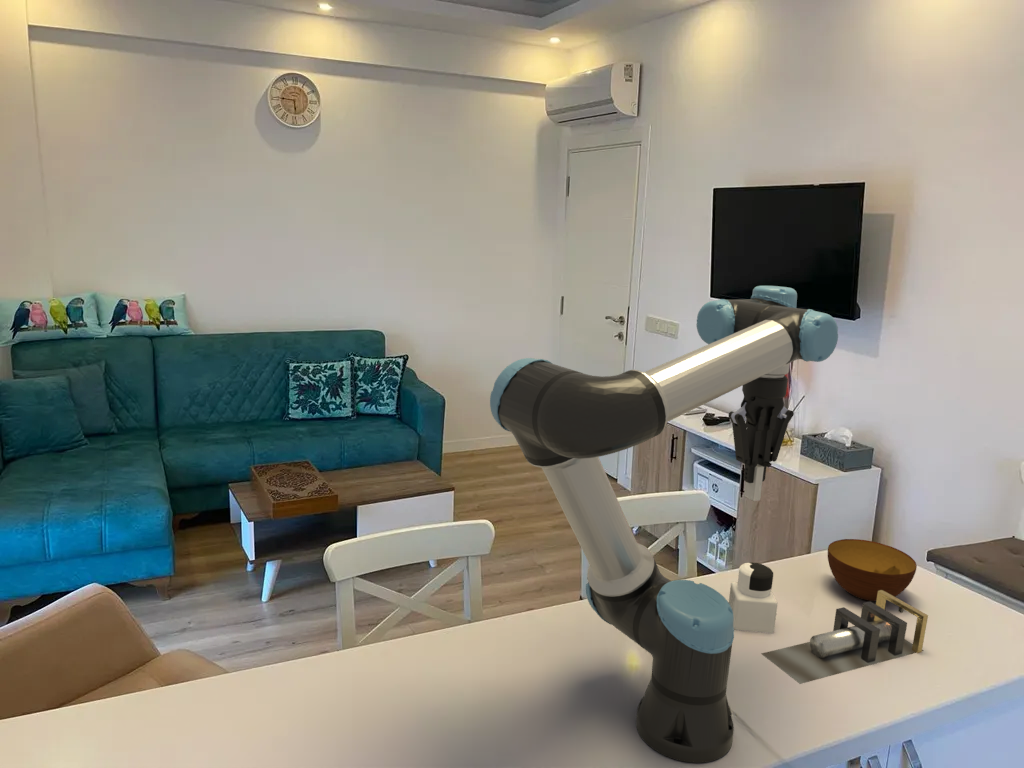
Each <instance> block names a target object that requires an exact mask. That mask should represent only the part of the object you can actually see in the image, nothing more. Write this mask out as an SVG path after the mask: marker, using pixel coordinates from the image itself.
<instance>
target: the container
mask: <svg viewBox="0 0 1024 768" xmlns="http://www.w3.org/2000/svg"><path fill="white" fill-rule="evenodd" d="M737 576H738V577H737V581H731V582H730V588H729V599H728V602H729V604H730V606H731V608H732V611H733V616H734V623H733V627H734V631H743V632H755V633H766V634H774V633H775V628H776V620H777V619H776V618H777V612H778V611H777V610H778V601H777V599H776V597H775V595H774V593H773V590H772V589H773V582H774V571H773V570H772V569H771V568H770V567H768V566H767V565H765V564H762V563H759V562H745V563H742V564H741V565H740V566H739V568H738V575H737Z"/></svg>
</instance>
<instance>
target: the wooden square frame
mask: <svg viewBox="0 0 1024 768" xmlns="http://www.w3.org/2000/svg"><path fill="white" fill-rule="evenodd" d="M887 601H888V602H890V603H892V604H893V605H894V606H897V607H898V612H899V613H900V614H902V613H904V611H906V612H908V613H909V614H911V615H913V616H915V617H916V624H915V630H914V635H913V640H912V641H913V642H912V644H913V646H912V651H914V652H916V653H915V654H920V653H922V652H923V651H922V650H923V647H924V643H925V642H924V640H925V634H926V630H927V623H928V618H929V617H928V616H929V615H928V614H927V613H925V612H923V611H921V610H920V609H918V608H916V607H914V606H912V605H910V604H908V603H906V602H905V601H903V600H901V599H899V598H898V597H897V596H896V597H894V596H892V595H891V594H889V593H887V592H885V591H883V590H880V591H878V594H877V600H876V601H875V604H876V605H877V606H879V607H881V608H883V609H884V610H886V609H885V608H886V603H887ZM877 620H880V618H879V617H877V616H875V618H874V621H877Z"/></svg>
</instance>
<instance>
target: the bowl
mask: <svg viewBox="0 0 1024 768" xmlns="http://www.w3.org/2000/svg"><path fill="white" fill-rule="evenodd" d="M827 561H828V566H829V569H830V571H831V573H832V575H833V578H834V579H835V581H836V582H837V584H838V585H839V586H840V587H841V589H843V590H845V591H846V592H847V593H848V594H850V595H852V596H854V597H856V598H857V599H861V600H865V601H867V602H870V601H871V602H876V600H877V594H878V591H880V590H883V591H885V592H887V593H889V594H891V595H892V596H894V597H896V598H897V596H899V595H900V594H901V593H903V592H904V591H905V590H906V589H907V588H908V587H909V585H910V584H911V583H912V582H913V579H914V577H915V574H916V572H917V567H918V566H917V562H916V561H915V559H914V558H912V556H910V555H909V554H908V553H906V552H904V551H902V550H900V549H898V548H896V547H893V546H892V545H891V546H890V545H887V544H884V543H881V542H877V541H871V540H865V539H858V538H857V539H856V538H844V539H839V540H838V539H837V540H835V541H832V542H831V543H829V545H828V547H827Z"/></svg>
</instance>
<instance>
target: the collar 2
mask: <svg viewBox="0 0 1024 768" xmlns="http://www.w3.org/2000/svg"><path fill="white" fill-rule="evenodd" d="M875 616H877V617H879V618H880V619H882V620H884V621H886V622H887V623H889V624H891V625H892V629H891V635H890V641H889V647H888V652H890V653H891V654H893V655H894V656H895V655H899V654H902V651H903V645H904V639H905V640H906V633H907V627H908V622H907V621H905V620H903V619H902V618H900V617H898V616H896V615H894V614H893V613H891V612H890V611H888V610H886V609H885V610H884V609H883V608H881V607H879V606H877V605H876V603H874V602H873V601H867V602H862V607H861V613H860V617H861V618H862V619H864V620H866V621H867V622H873V621H874V618H875Z"/></svg>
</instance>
